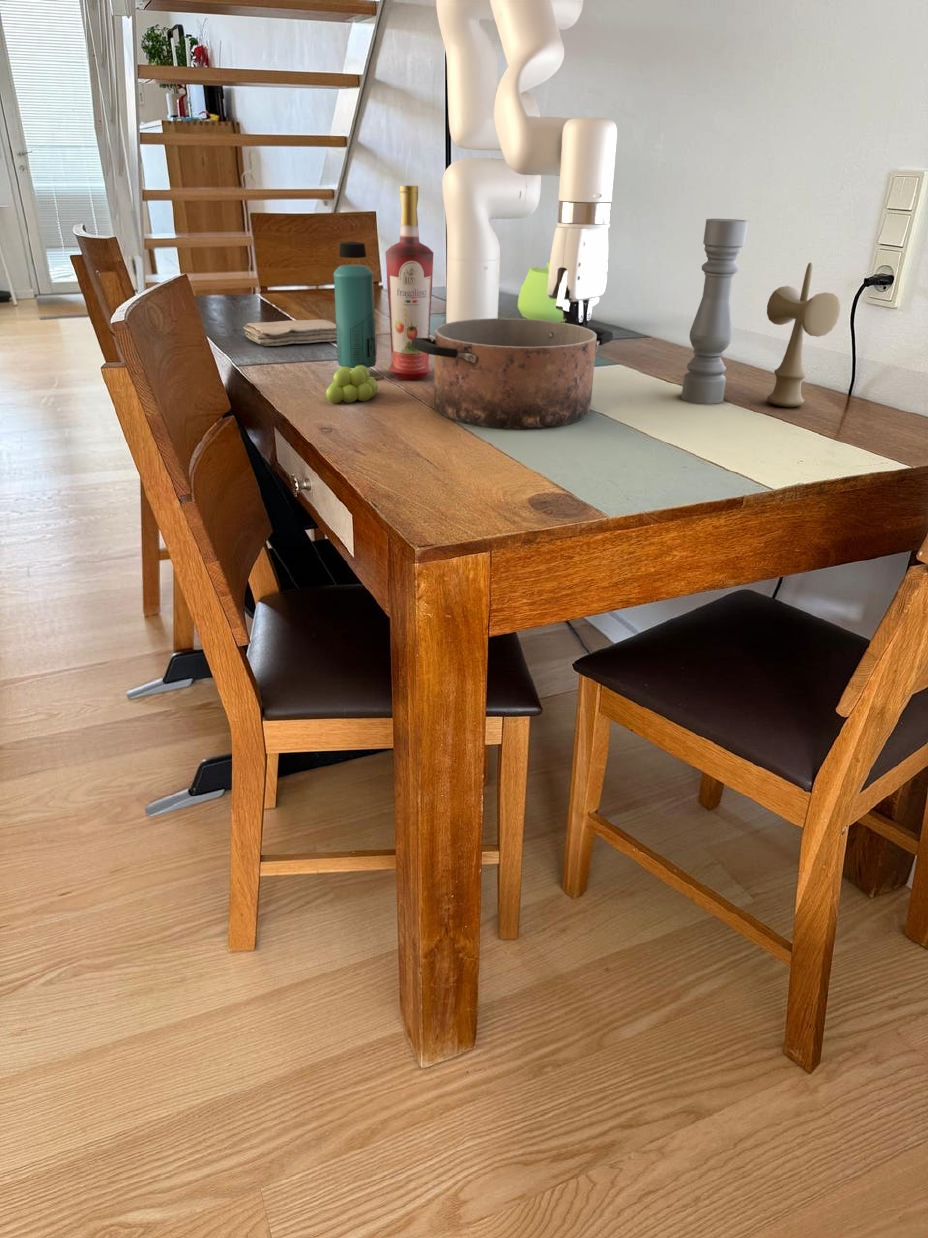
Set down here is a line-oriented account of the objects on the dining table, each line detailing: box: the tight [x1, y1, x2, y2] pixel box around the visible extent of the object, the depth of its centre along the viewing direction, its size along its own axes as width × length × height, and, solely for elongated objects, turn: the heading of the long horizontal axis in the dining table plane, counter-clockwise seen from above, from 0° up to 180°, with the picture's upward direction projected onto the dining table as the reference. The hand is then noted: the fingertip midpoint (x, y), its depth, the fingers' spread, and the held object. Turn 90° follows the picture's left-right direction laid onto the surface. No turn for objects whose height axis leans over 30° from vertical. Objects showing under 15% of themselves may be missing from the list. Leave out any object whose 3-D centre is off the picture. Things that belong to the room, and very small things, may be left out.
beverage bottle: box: [332, 241, 378, 369], centre depth 145 cm, size 6×7×20 cm
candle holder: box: [680, 218, 749, 405], centre depth 134 cm, size 6×6×25 cm
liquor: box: [385, 185, 434, 381], centre depth 142 cm, size 7×7×28 cm
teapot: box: [517, 261, 570, 323], centre depth 194 cm, size 20×13×13 cm
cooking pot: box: [412, 317, 614, 430], centre depth 129 cm, size 30×22×11 cm
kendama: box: [766, 262, 841, 408], centre depth 133 cm, size 6×10×20 cm, turn 20°
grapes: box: [325, 365, 385, 404], centre depth 135 cm, size 12×7×4 cm, turn 143°
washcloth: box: [243, 319, 337, 347], centre depth 175 cm, size 12×18×3 cm, turn 119°
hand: (575, 347), depth 139 cm, fingers closed
